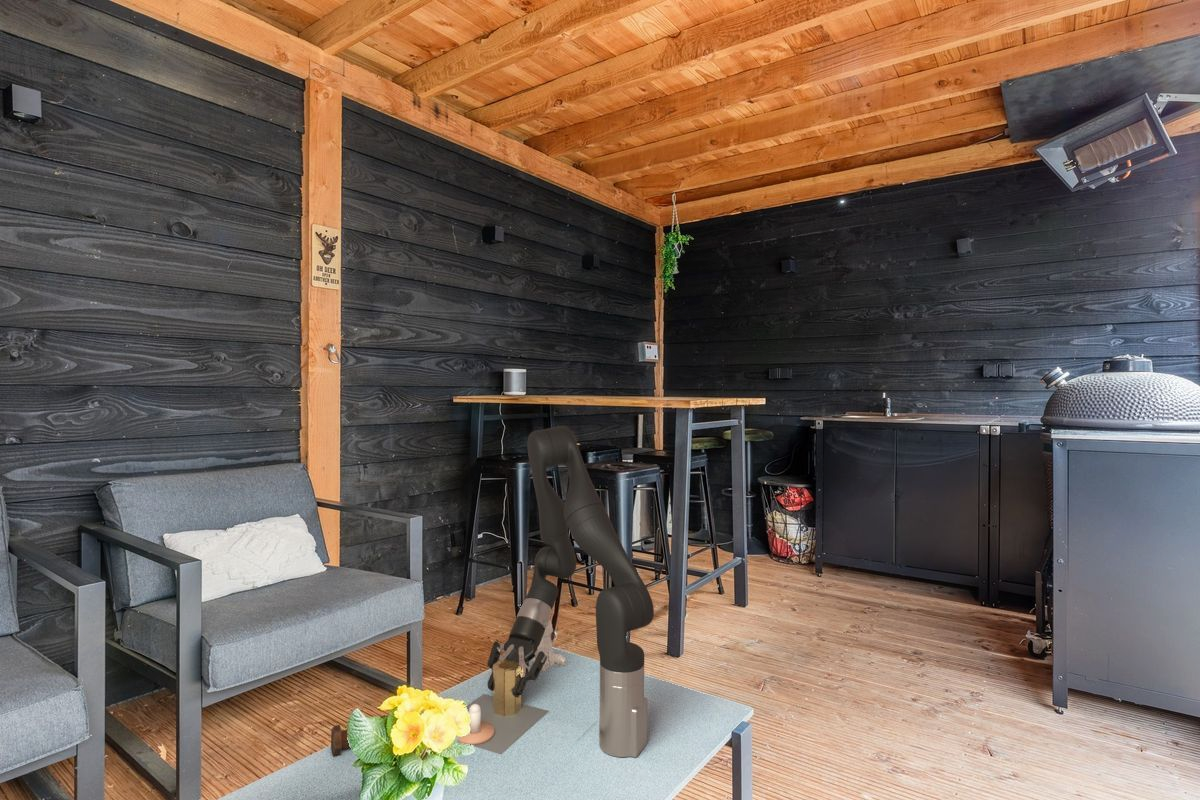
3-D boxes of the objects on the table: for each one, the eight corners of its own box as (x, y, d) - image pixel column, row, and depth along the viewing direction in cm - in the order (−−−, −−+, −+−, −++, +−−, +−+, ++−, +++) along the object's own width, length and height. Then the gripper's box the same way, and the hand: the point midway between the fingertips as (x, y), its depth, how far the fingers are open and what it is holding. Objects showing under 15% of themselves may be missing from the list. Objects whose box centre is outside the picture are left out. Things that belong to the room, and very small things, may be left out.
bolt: (408, 746, 137) (331, 762, 130) (404, 724, 141) (330, 739, 134) (411, 728, 134) (334, 744, 127) (408, 707, 138) (332, 721, 131)
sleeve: (525, 705, 147) (525, 662, 147) (510, 718, 142) (511, 673, 141) (503, 700, 150) (503, 657, 150) (488, 711, 144) (488, 667, 144)
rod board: (549, 717, 145) (549, 682, 145) (499, 763, 127) (499, 723, 127) (483, 699, 153) (483, 666, 153) (428, 740, 135) (428, 703, 135)
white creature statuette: (539, 675, 166) (539, 629, 166) (520, 664, 172) (520, 620, 172) (568, 665, 172) (568, 620, 172) (548, 655, 179) (549, 612, 178)
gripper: (499, 610, 155) (469, 679, 145) (551, 620, 149) (523, 693, 138) (512, 624, 160) (483, 692, 150) (562, 634, 154) (536, 706, 143)
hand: (503, 692), depth 144 cm, fingers closed on sleeve, 6 cm apart
